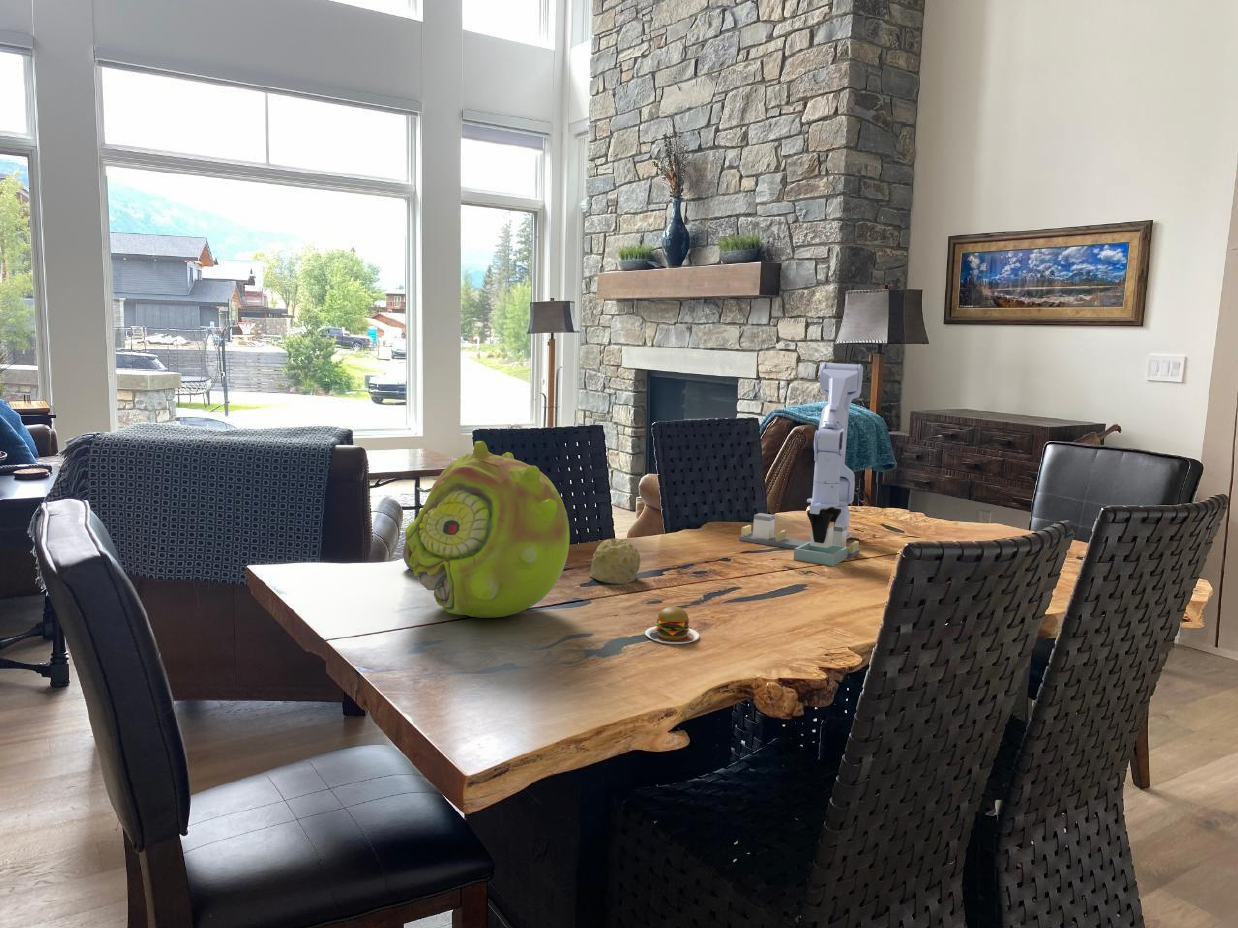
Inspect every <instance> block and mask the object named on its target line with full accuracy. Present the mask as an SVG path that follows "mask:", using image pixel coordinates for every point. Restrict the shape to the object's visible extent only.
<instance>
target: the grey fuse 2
mask: <svg viewBox="0 0 1238 928" xmlns="http://www.w3.org/2000/svg"><path fill="white" fill-rule="evenodd" d="M846 537H847V525H841V524H835V525H834V528H833V542H832V545H837V546H844V547H847V546H846V545H847V539H846Z"/></svg>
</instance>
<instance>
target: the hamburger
mask: <svg viewBox="0 0 1238 928" xmlns="http://www.w3.org/2000/svg"><path fill="white" fill-rule="evenodd" d="M689 621H690V618H689V614H688V613H687V611H686V610H685V609H683V608H682V607H678V606H667V607H665V608H663V609H661V610H660V611H659V612H658V615H657V619H656V623H654V625H653V626H652V627H649V628H648V629H646V630H645V632H644V634H645V636H646V637H647V638H649V639H651V640H653V641H655V642H658V643H662V644H667V645H668V644H669V645H684V644H689V643H692V642H694V641H697V640H699V638H700V633H699V632H697V631H696V630H694V629H692V628H690V626H689V623H690V622H689ZM654 632H657V635H658V636H659V638H661V639H664V641H663V640H659V639H656V638H653V637H652V636H651V634H652V633H654ZM688 634H690V635H692V636H693V639H692V640H690V641H682V642H675V641H681V640H683V639H685V638H686V637H687V636H688ZM665 640H668V641H665ZM671 641H674V642H671Z"/></svg>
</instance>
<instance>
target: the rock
mask: <svg viewBox="0 0 1238 928" xmlns="http://www.w3.org/2000/svg"><path fill="white" fill-rule="evenodd" d="M640 565H641V554H640V553H639V550H638V548H636V546H634V544H632V543H630V542H629V541H627V540H625V539H621V538H608V539H604V540H603V541H602V542H600V544H599V545H598V546H597V547H596V550H595V551H594V552H593V555H592V559H591V567H590V573H589V575H590V576H589V577H591V579H594V580H596V581H599V582H602V583H605V584H613V585H627V584H630V583H632V582H634V581H635V580H636V579H637V578H638V577H637V576H638V575H637V573H638V572H639V570H640V567H641V566H640Z"/></svg>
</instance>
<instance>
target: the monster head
mask: <svg viewBox="0 0 1238 928" xmlns="http://www.w3.org/2000/svg"><path fill="white" fill-rule="evenodd" d="M568 517H569V516H568V512H567V509H566V507H565V504H564V502H563V499H562V498H561V496H560V493H559V492H558V490H557V488H556V486H555V484H554V483H553V482H552V481H551V480H550V479H549V477H548V476H547V475H545V474H544V473H543V472H542V471H541V470H540V469H539V467H538V466H536V465H530V464H528V463H526V462H524V461H521V460H517V459H515V457H514V454H513V453H512V452H509V451H508V452H507V451H506V452H505V453H502V455H497V454H493V453H491V452H489V449H488V445H487V444H486V442H485V441H484V440H478V441H474V445H473V452H472V453H466V454H464V455H462V456H460V457H458V458H457V459H455V460H453V461H452V462H451V463H450V464H448V466H447V467H445V469H443V470H442V471H441V473H440V474H439V476H438V478H436V480H435V481H434V483H433V484H432V487H431V488H430V491H429V494H428V496H427V499H426V501H425V503H424V504H423V507H422V508H421V509H420V510H419V511H418V514H417V517H416V518H415V519H414V520H413V522H411V523H410V524H409V525H408V526H407V527H406V528H405V530H404V531H405V539H404V540H405V541H407V545H406V555H407V558H408V562H409V564H410V565H411V566H412V567H413V570H412V571H413V577H417V581H418V582H419V583H420V585H422V586H423V587H424V588H425V589H426V590H427V591H433V596H434V600H435V602H436V603H437V605H438V606H440V607H442V608H443V609H444V610H445V611H446V612H447V613H449V614H451V615H459V616H460V615H461V616H468V617H473V618H482V619H483V618H484V619H486V618H487V619H488V618H489V619H490V618H502V617H507V616H508V617H509V616H512V615H515V614H518V613H520V612H523V611H527V610H528V609H529V608H532V607H533V606H535V605H536V604H538V603H539V602H540V601H542V600H543V599H544V598H545V597H546V596H547V595H548V594H549V593H550V592H551V591H552V590H553V588H555V585H556V584H557V583H558V581H559V580H560V578H561V576H562V574H563V571H564V568H565V566H566V564H567V559H568V556H569V550H570V549H569V548H570V539H571V538H570V535H571V534H570V523H569V518H568Z"/></svg>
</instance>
